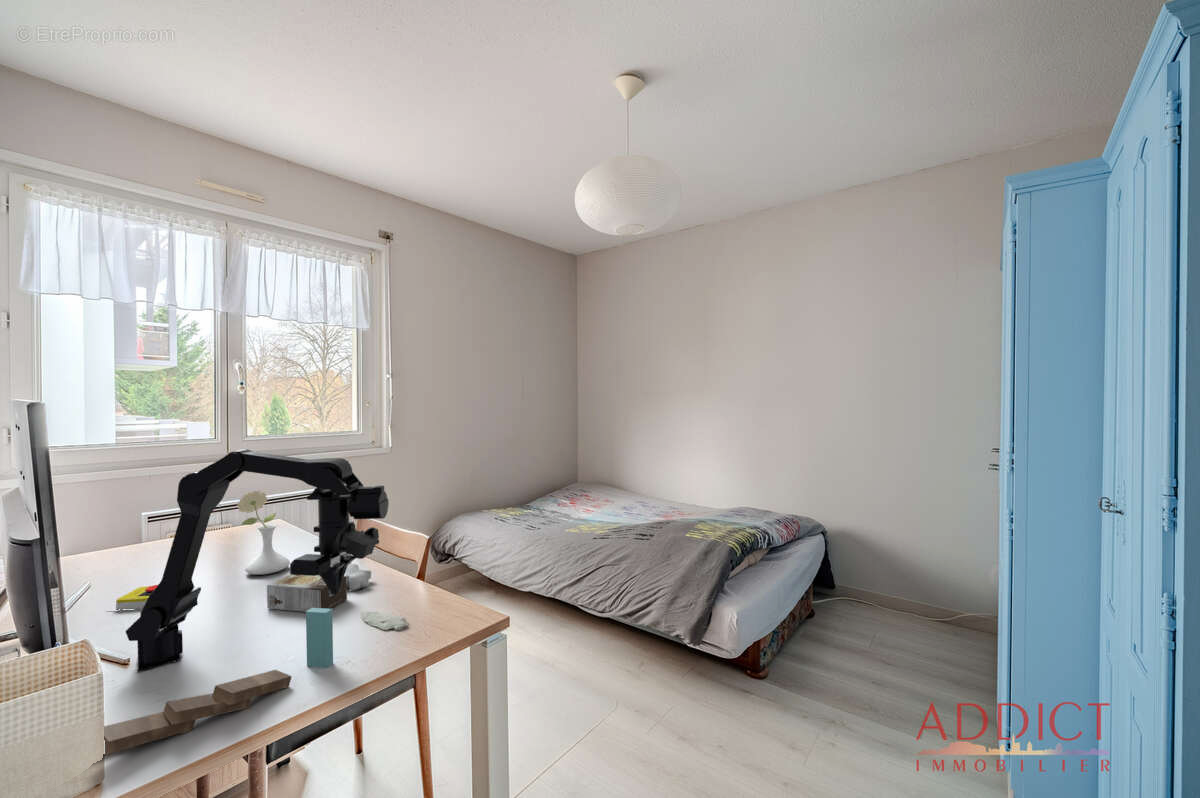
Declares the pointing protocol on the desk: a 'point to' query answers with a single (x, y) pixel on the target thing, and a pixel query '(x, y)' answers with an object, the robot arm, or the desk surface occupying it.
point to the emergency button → (135, 598)
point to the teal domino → (319, 637)
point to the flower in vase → (268, 557)
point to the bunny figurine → (356, 577)
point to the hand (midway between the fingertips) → (335, 593)
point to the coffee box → (303, 593)
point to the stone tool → (383, 620)
